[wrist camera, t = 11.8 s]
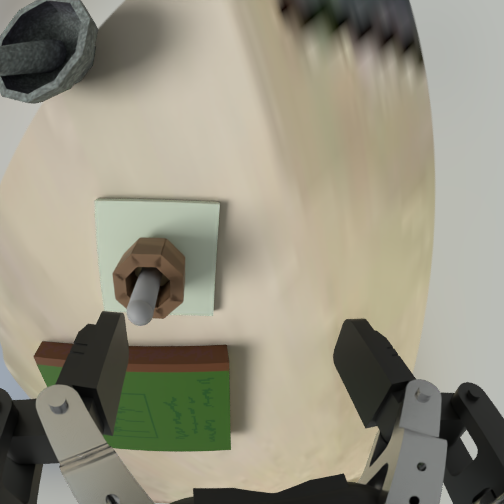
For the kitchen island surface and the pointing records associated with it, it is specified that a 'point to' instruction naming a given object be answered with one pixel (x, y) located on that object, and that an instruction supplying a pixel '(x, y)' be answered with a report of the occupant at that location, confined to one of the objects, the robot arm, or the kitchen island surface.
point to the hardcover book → (164, 396)
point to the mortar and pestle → (46, 50)
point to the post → (158, 226)
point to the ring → (152, 255)
